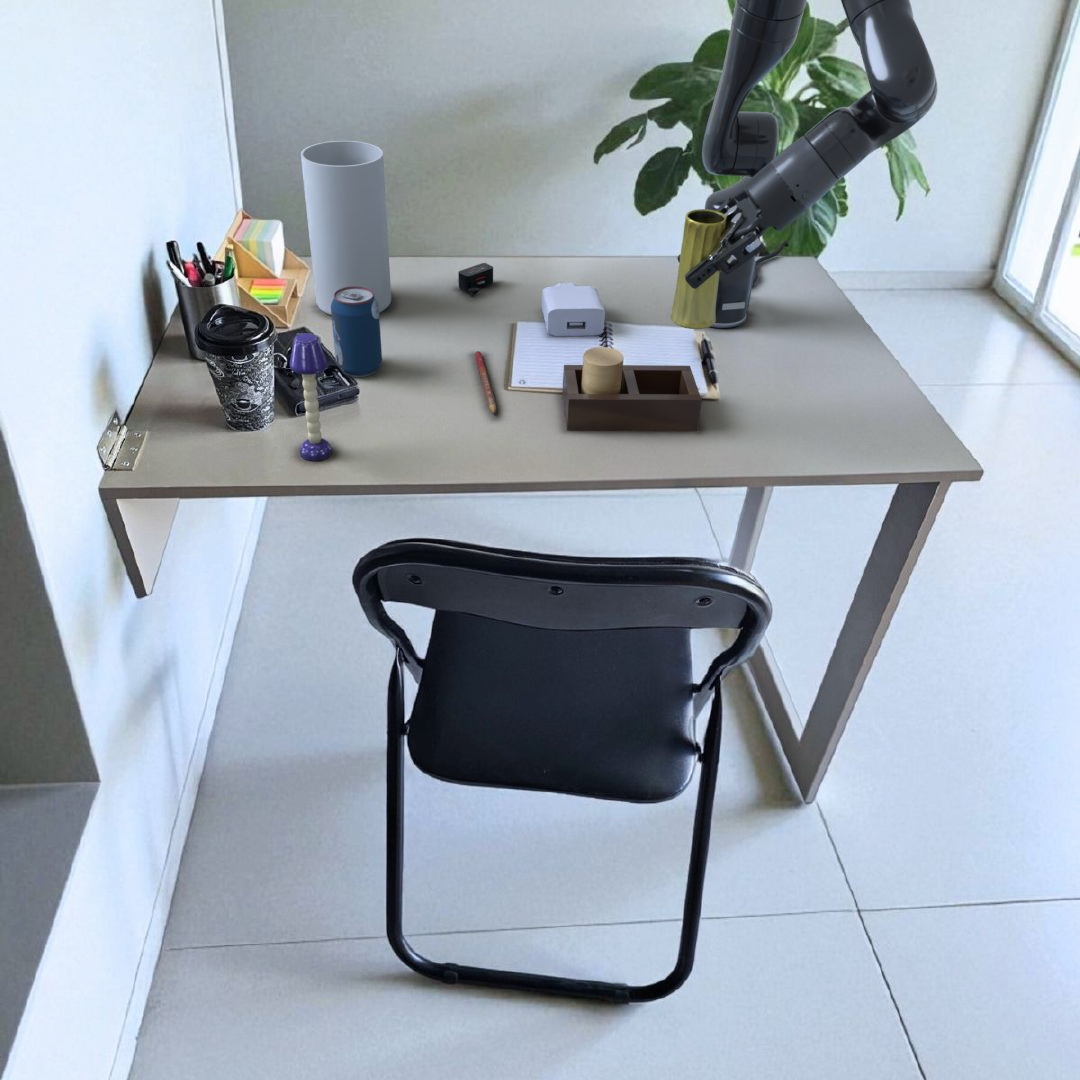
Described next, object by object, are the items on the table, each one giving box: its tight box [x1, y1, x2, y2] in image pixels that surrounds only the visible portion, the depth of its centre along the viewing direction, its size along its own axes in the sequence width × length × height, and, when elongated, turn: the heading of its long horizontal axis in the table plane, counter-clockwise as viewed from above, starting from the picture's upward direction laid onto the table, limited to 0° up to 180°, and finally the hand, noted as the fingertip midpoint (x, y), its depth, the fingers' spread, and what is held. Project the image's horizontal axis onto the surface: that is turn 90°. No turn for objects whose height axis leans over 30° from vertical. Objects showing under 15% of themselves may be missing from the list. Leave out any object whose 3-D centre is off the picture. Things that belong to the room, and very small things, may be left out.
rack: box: [561, 364, 703, 432], centre depth 149 cm, size 10×18×5 cm, turn 93°
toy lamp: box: [289, 333, 333, 462], centre depth 135 cm, size 5×5×17 cm
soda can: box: [330, 286, 383, 378], centre depth 155 cm, size 7×7×12 cm
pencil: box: [474, 350, 497, 416], centre depth 155 cm, size 19×1×1 cm, turn 10°
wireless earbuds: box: [457, 262, 494, 297], centre depth 181 cm, size 5×7×3 cm, turn 134°
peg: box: [581, 346, 625, 394], centre depth 148 cm, size 6×6×9 cm
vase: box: [669, 208, 727, 330], centre depth 137 cm, size 6×6×14 cm
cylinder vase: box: [300, 140, 392, 316], centre depth 168 cm, size 12×12×25 cm
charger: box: [541, 282, 606, 337], centre depth 174 cm, size 5×9×15 cm
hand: (685, 273), depth 137 cm, fingers closed on vase, 5 cm apart
